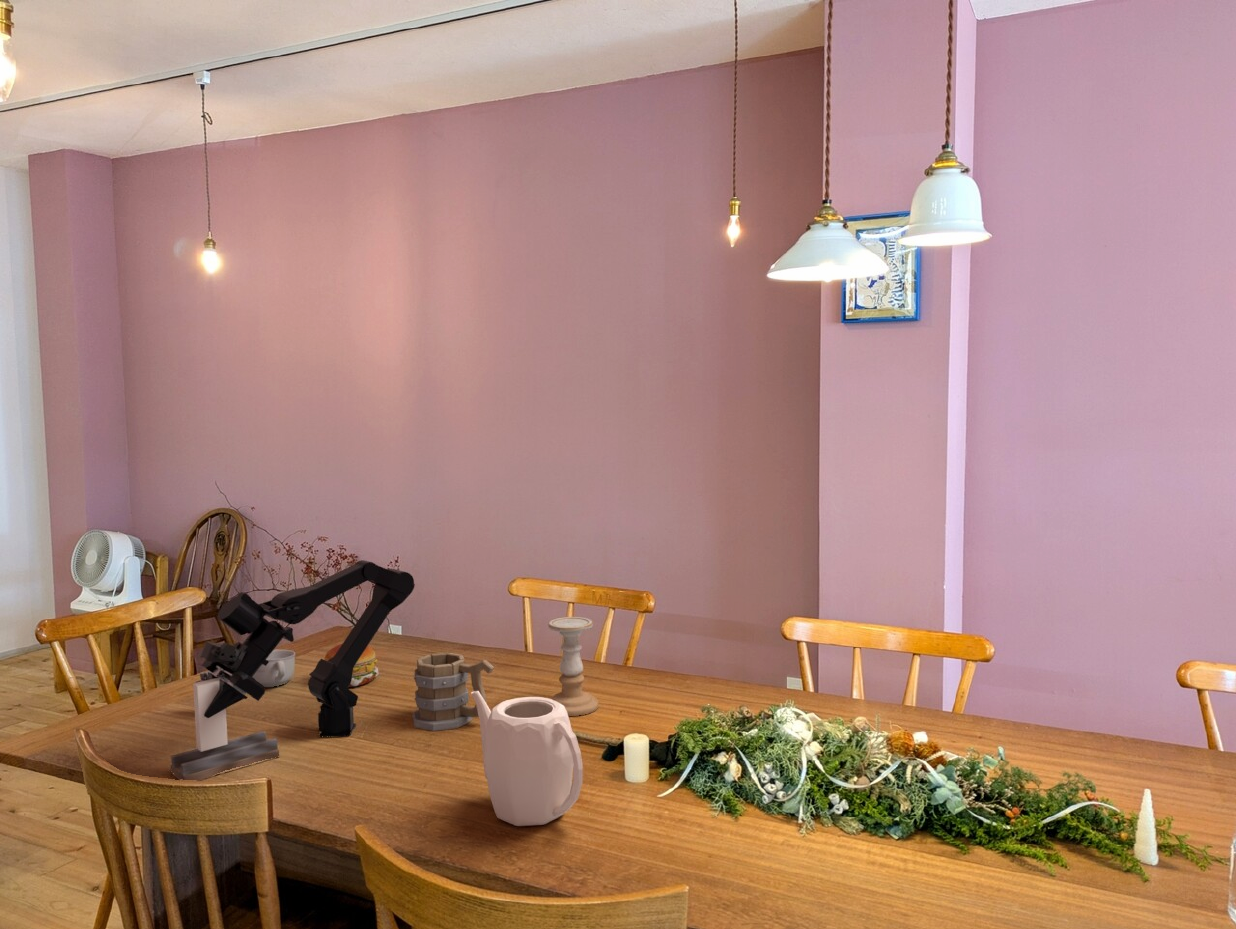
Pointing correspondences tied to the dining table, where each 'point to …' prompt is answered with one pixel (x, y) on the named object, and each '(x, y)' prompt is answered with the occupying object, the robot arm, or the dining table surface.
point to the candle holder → (572, 667)
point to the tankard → (446, 691)
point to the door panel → (215, 727)
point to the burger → (360, 666)
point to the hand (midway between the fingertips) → (203, 715)
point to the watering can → (529, 759)
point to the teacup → (276, 669)
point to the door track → (224, 757)
